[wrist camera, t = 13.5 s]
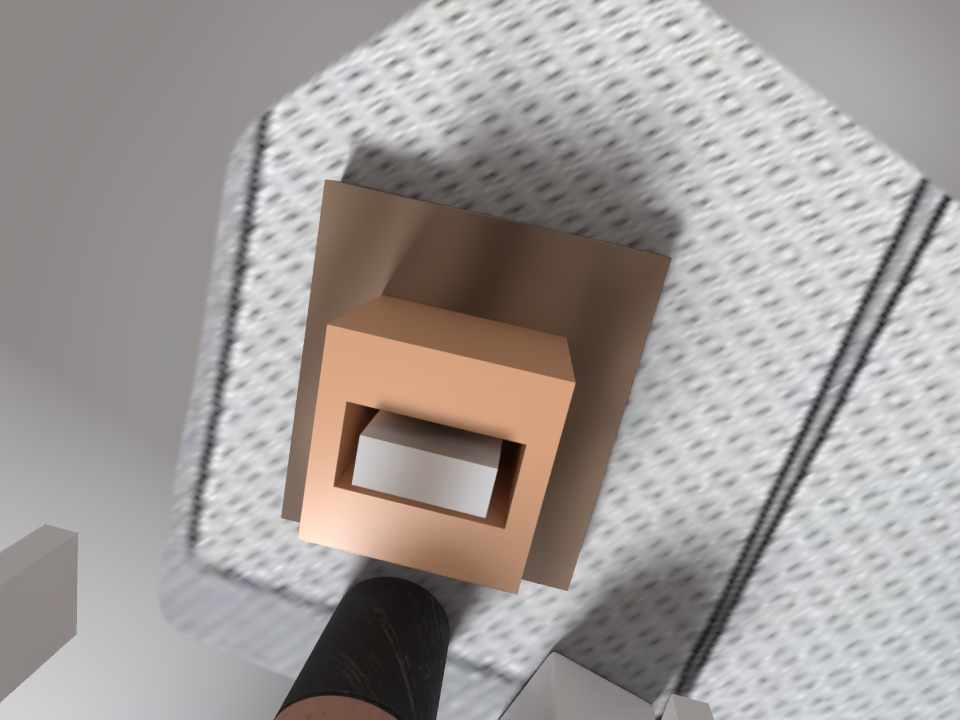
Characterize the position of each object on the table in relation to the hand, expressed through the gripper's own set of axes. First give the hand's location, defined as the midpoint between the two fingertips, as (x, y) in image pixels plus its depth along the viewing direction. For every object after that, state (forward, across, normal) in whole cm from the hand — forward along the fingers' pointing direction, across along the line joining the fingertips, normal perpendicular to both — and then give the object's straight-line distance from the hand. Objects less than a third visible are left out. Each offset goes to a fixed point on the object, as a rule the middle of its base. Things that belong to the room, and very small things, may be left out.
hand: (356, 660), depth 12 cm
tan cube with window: (+16, 0, 0) cm, 16 cm away
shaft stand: (+18, 0, 0) cm, 18 cm away
